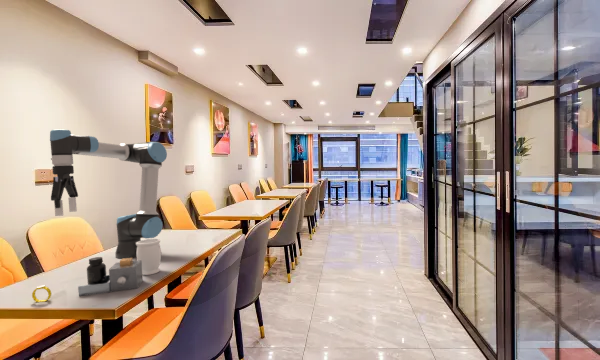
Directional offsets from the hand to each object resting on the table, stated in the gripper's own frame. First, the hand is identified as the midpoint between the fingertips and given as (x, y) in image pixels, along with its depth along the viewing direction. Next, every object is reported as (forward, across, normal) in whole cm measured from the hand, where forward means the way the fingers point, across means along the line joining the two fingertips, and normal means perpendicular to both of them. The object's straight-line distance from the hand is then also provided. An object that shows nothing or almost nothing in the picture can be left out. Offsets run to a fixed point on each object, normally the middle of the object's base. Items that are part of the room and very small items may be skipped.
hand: (66, 213), depth 147 cm
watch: (+31, +21, -2) cm, 37 cm away
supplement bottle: (+30, +14, +15) cm, 36 cm away
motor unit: (+31, +15, +20) cm, 40 cm away
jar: (+31, -2, +32) cm, 45 cm away
